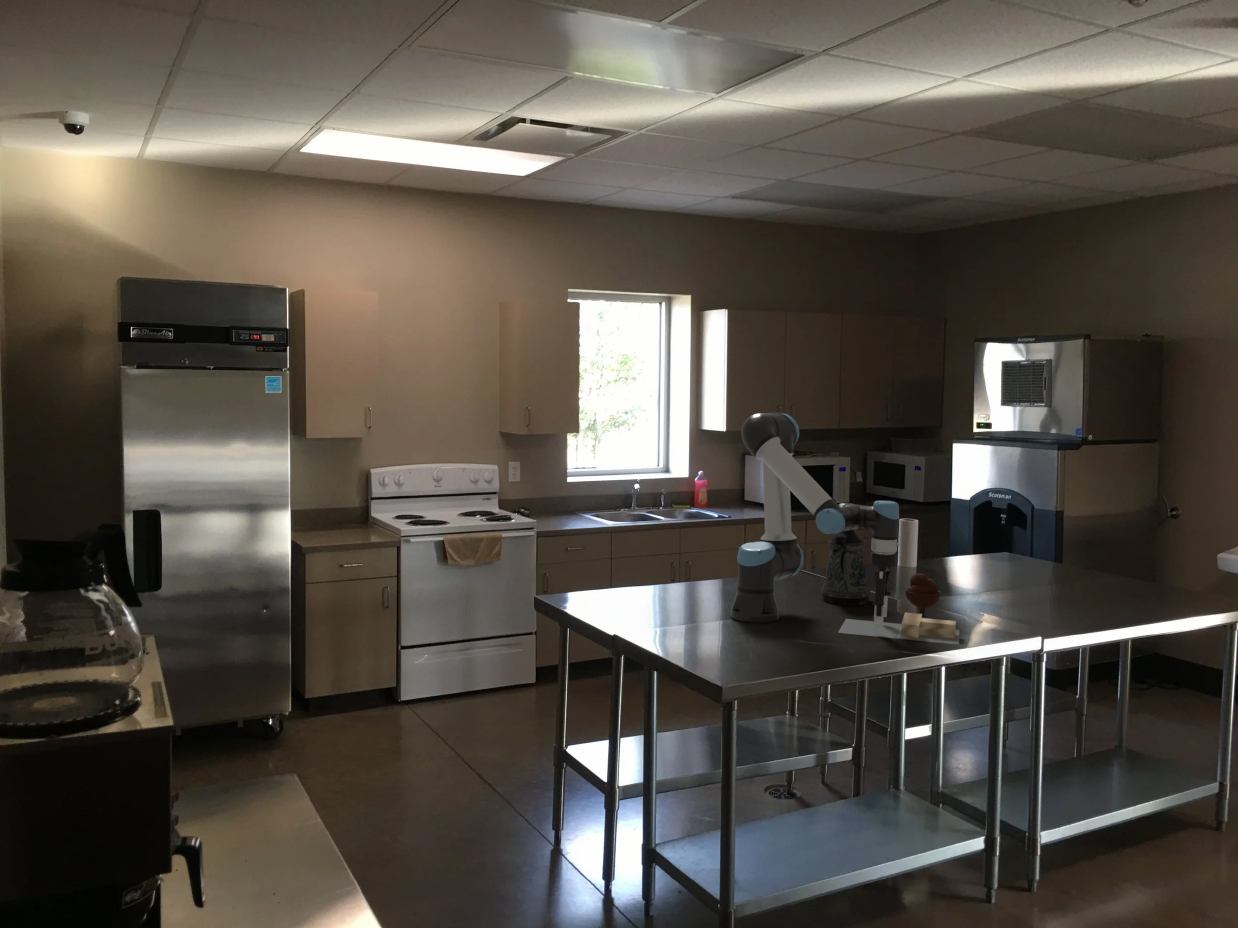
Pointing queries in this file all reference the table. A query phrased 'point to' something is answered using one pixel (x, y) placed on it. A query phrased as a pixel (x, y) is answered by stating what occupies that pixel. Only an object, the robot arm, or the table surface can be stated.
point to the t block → (926, 627)
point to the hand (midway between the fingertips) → (880, 621)
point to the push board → (888, 631)
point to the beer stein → (846, 571)
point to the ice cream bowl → (922, 592)
